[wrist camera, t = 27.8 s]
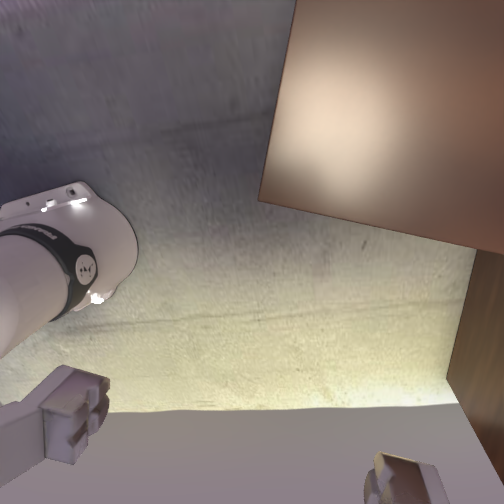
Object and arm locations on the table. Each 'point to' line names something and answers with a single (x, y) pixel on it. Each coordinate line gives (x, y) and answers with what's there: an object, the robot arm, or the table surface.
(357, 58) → the cupboard
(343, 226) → the table surface
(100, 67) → the table surface
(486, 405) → the cupboard door
